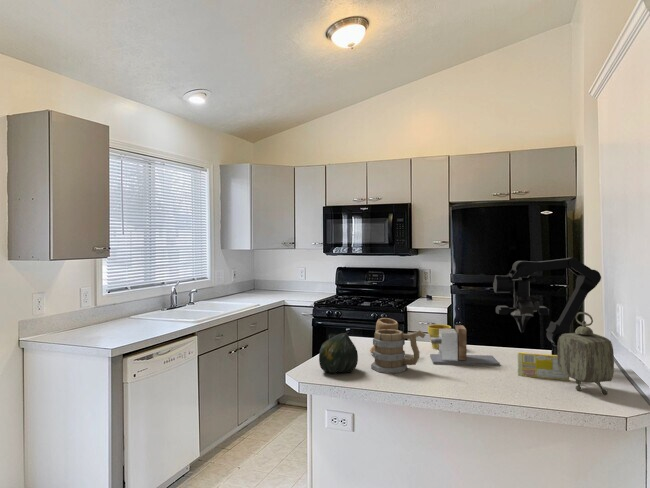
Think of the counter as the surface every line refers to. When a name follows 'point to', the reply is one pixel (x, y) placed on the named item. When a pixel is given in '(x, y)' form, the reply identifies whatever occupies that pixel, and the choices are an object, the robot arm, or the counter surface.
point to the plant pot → (436, 332)
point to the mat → (468, 360)
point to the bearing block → (448, 345)
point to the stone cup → (385, 326)
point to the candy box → (539, 366)
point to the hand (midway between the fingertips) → (522, 332)
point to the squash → (338, 354)
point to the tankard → (393, 350)
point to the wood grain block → (460, 340)
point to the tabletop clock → (586, 356)
